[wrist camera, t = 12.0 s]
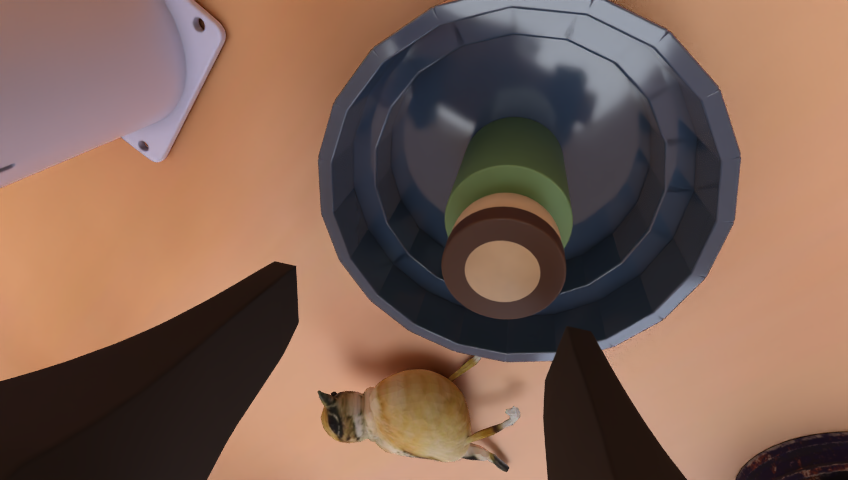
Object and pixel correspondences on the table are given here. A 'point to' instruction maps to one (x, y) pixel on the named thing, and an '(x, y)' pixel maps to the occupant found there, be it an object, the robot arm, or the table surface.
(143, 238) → the table surface
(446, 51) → the bowl
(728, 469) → the table surface
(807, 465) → the dark striped cylinder
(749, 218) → the table surface
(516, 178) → the peg doll
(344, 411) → the decorative bird model
